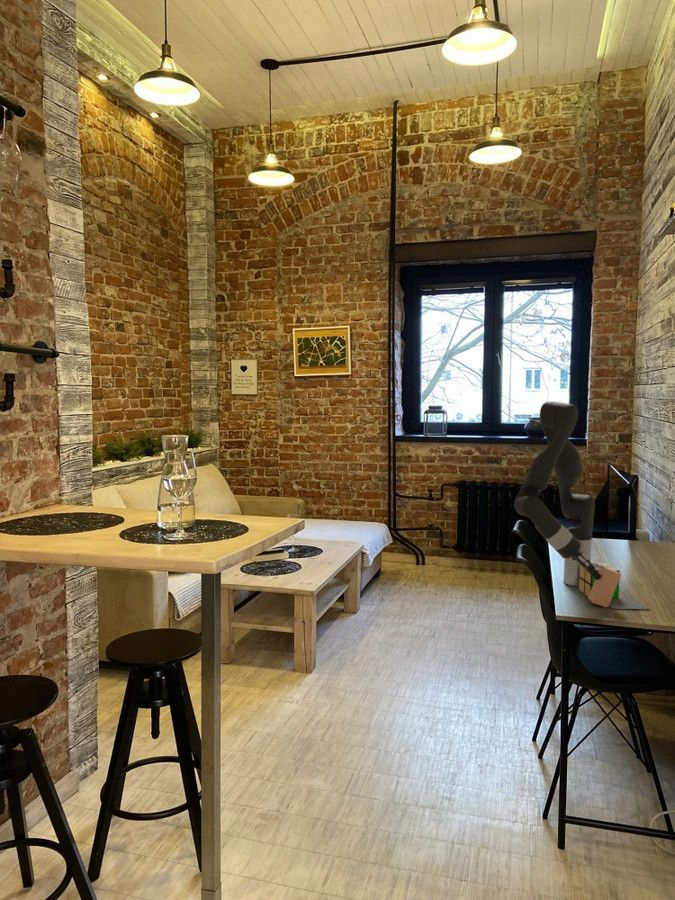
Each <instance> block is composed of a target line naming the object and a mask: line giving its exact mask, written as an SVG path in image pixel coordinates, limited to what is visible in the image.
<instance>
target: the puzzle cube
mask: <svg viewBox="0 0 675 900" xmlns="http://www.w3.org/2000/svg"><path fill="white" fill-rule="evenodd" d="M591 563H592V562H591ZM592 565H593V566H594V567H595V570H596V571H597V572H599V569H600V567H601V565H602V566H605V567H608V568H610V569H613V570H616V571H617V572H619V573H620V574H621V572H620V570H619V569H618V568H615V567H614V566H613V565H610V564H609V563H606V562H605V563H604V562H599V563H597V562H596V563H595V562H594V563H592ZM579 576H580V578H579V587H578V591H579V590H580V591H579V592H581V593H582V594H583V593H584V596H586V597H587V596H589V594H590V591H591V589H592V586H593V584H594V581H595V579H594V578H593V577H592V576H591V575H590V574H589V573H588V572H587V571H585V569H583V568H581V567H580V574H579ZM619 584H620V581H619V582H618V584H617V586H616V589H615V591H614V594H613V596H612V599H620V597H619V595H620V585H619Z"/></svg>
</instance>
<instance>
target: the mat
mask: <svg viewBox="0 0 675 900" xmlns="http://www.w3.org/2000/svg"><path fill="white" fill-rule="evenodd" d="M609 606H610V607H611V608H612V609H639V610H638V611H650V610H651V609H650V608H649V607H648V606H646V605H645V604H643V602H641V601H639V600H638V599H637V598H618V599H611V601H610V603H609ZM609 606H608V607H609ZM610 607H609V608H610ZM611 608H610V609H611ZM612 609H611V610H612Z"/></svg>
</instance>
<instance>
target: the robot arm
mask: <svg viewBox="0 0 675 900" xmlns="http://www.w3.org/2000/svg"><path fill="white" fill-rule="evenodd" d="M578 418H579V410H578V408H577V406H575V405H574V404H572V403H566V402H560V401H551V400H548V401H546V402H544V403H543V404H542V405H541V407H540V410H539V420H540V421H539V422H540V425H541V428H542V431H543V433H544V434H543V435H544V436H545V439H546V441H547V446H546V447H545V448H544V449H543V450H541V451H540V452H539V453H538V454H537V455H536V456H535V457H534V458H533V460H532V462H531V464H530V466H529V470H528V472H527V475H526V477H525V481H524V483H523V484H522V486H521V487H520V488H519V489H520V490H519V491H518V493H517V494H516V497H515V499H514V510H515V511H516V513H517V514H519V515H520V516H523V517H527V518H528V519H529V520H530V521H531V522H532V523H533V524H534V528H535V529H536V531H537V532H538V533H539V534H540V535H541V536H542V537H543V538H544V539H545V540H546V541H547V543H548V544H549V545H550V546H551V547H552V548H553V549H554V550H555V551H556V553H558V554H559V556H561V558H563V559H564V560H563V561H564V563H563V565H564V566H563V583H564V584H566V585H567V584H568V586H572V587H577V588H579V578H580V576H579V574H580V567H581V568H583V569H585V571H587V572H588V573H589V574H590V575H591V576H592V577H593V578H594V579H596V580H598V579H599V578H601V575H600V574H599V573H598V572H597V571H596V570H595V567H594V566H593V565H592V551H593V550H592V547H593V544H592V543H593V529H594V517H595V510H596V509H595V507H596V506H595V505H596V504H595V498H594V497H593V496H592V495H588V494H581V493H580V494H579V493H574V492H572V488H573V486H574V485H575V484H576V482H577V481H578V480H579V478H580V476H581V474H582V472H583V466H582V461H581V455H580V453H579V451H578V449H577V448H576V447H575V445H574V444H573V443H572V442H571V441H570V440H569V439H570V437H571V435H572V433H573V431H574V429H575V427H576V425H577V422H578ZM553 470H554V474H555V477H556V481H557V486H558V491H559V496H560V497H559V498H560V499H559V500H560V506H561V512H562V515H563V517H565V518H567V519H571V520H578V521H579V520H580V521H581V524H579V525H577V526H573V527H565V525H563V524H561V522H560V521H559V520H558V519H557V518H556V517H555V516H553V514H552V513H551V511H550V510H549V508H548V507H547V506H546V504H545V503H544V502H543V500H541V499H540V498H539V496H540V494H541V493H542V492H543V491H545V490H546V488H547V487H548V485H549V482H550V480H551V479H550V478H551V475H552V473H553Z"/></svg>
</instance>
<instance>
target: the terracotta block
mask: <svg viewBox="0 0 675 900" xmlns="http://www.w3.org/2000/svg"><path fill="white" fill-rule="evenodd" d="M598 573H599V574H600V575H601V578H599V579H598V580H596V579H595V581H594V584H593V586H592V589H591V591H590V594H589V596H588V597H587V599H588V600H589V601H590V602H592V604H596V605H599V606H601V607H604V608H606V607H608V608H609V603H610V601H611V599H612V596H613V594H614V591H615V589H616V586H617V584H618V582H619V583H620V579H621V576H622V573H621V572H620V573H619V572H617V571H616V570H613V569H610V568H608V567H605V566H602V565H601V567H600V569H599V572H598Z"/></svg>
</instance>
